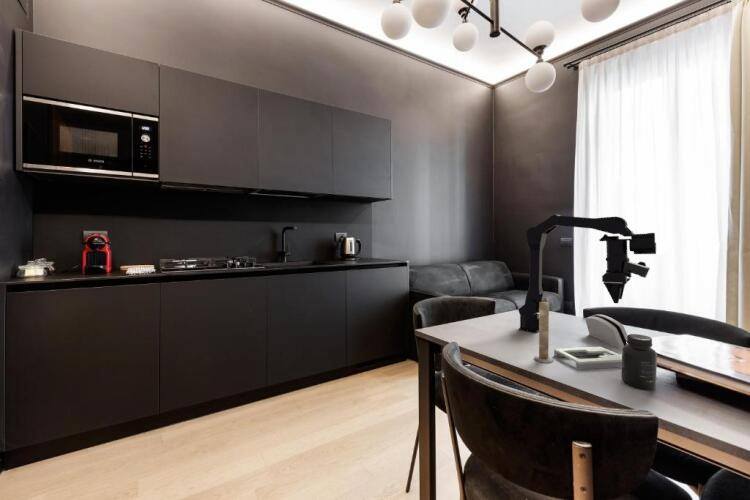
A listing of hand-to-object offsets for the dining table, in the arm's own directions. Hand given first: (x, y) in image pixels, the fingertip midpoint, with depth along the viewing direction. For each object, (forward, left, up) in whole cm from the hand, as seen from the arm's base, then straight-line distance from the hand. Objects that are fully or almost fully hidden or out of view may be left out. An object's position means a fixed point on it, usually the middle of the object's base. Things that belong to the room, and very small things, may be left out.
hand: (617, 301), depth 116 cm
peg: (-16, -30, -15) cm, 37 cm away
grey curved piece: (-3, +2, -15) cm, 15 cm away
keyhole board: (-5, -23, -15) cm, 28 cm away
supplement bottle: (+6, -35, -15) cm, 39 cm away
